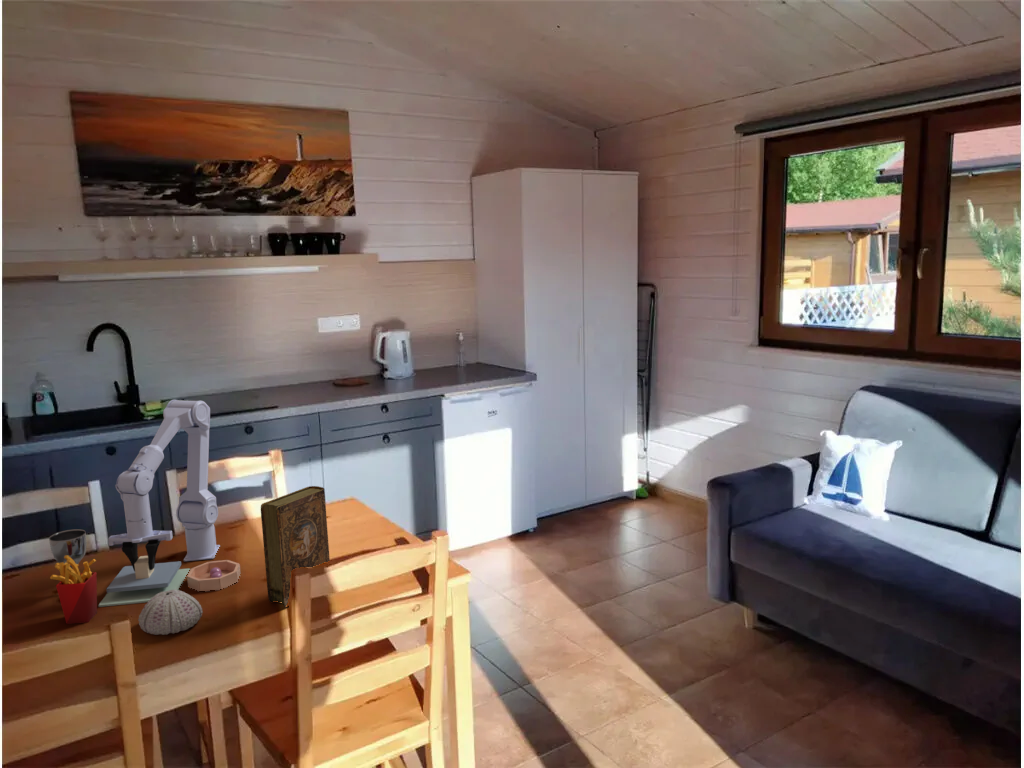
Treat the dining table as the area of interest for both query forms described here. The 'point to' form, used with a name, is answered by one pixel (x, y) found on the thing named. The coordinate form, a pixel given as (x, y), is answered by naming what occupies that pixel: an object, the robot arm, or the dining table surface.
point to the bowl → (213, 575)
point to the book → (293, 537)
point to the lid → (144, 576)
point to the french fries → (77, 591)
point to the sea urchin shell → (170, 613)
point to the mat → (142, 592)
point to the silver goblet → (68, 545)
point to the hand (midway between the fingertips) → (144, 569)
